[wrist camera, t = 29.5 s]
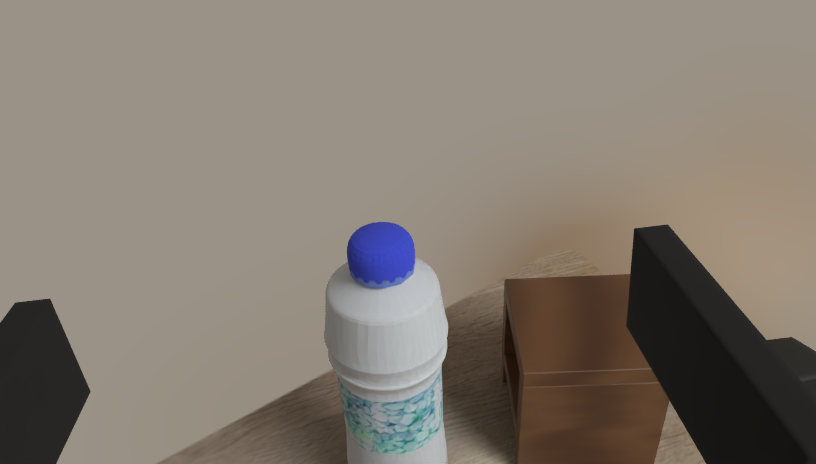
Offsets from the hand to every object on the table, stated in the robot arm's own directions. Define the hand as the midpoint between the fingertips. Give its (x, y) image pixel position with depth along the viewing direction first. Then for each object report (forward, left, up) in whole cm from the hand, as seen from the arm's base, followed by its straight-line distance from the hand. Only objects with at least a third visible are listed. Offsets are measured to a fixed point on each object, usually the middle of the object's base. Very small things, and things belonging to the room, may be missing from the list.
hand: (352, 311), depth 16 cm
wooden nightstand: (+12, +21, -28) cm, 37 cm away
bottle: (-1, +16, -28) cm, 33 cm away
